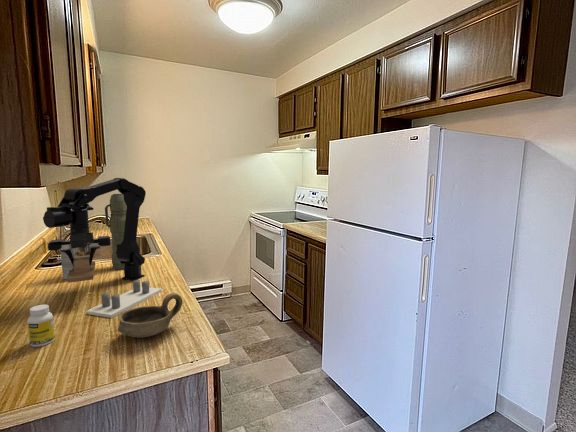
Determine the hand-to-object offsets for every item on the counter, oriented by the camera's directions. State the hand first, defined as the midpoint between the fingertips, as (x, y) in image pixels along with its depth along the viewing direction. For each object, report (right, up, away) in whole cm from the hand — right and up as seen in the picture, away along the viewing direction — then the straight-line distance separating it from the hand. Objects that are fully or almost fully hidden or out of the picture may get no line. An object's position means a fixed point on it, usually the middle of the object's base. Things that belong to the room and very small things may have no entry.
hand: (82, 266), depth 118 cm
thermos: (-4, -7, +37) cm, 38 cm away
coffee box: (-17, -8, +23) cm, 30 cm away
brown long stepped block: (0, -3, 0) cm, 3 cm away
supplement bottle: (+9, -16, -31) cm, 36 cm away
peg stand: (+18, -12, -4) cm, 22 cm away
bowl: (+36, -15, -25) cm, 46 cm away
